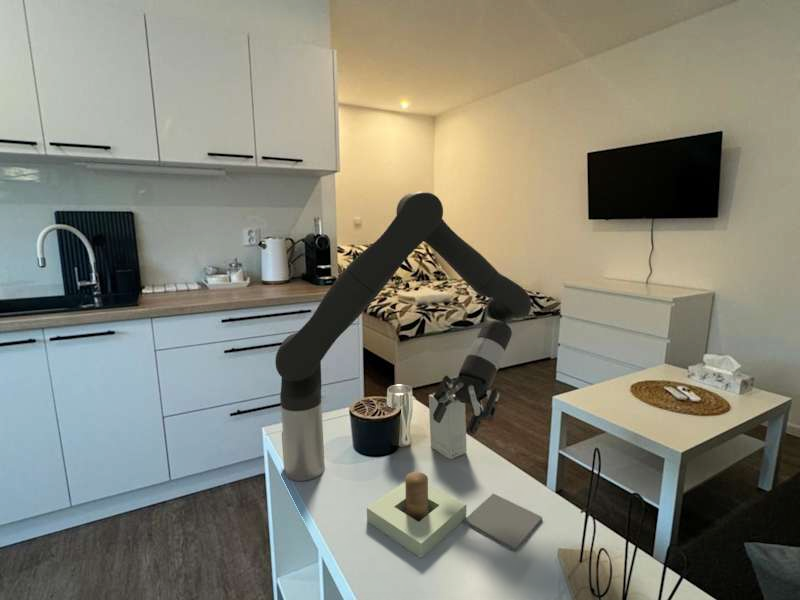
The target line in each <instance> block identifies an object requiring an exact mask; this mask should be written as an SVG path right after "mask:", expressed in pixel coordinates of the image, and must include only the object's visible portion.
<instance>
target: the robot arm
mask: <svg viewBox="0 0 800 600" xmlns="http://www.w3.org/2000/svg"><path fill="white" fill-rule="evenodd" d="M396 206H397V207H396V213H395V214H396V216H395V217H394V219H393V220H392V221H391V223H390V224H389V226H388V227H387V228H386V230H385V231H384V232H383V233H382V234H381V235H380V237H379V238H377V240H376V241H374V242H373V243H372V244H371V245H369V246H368V247H366V248H365V249H364V250H363V251H362V252H361V253H360V254H359V255H357V256H356V257H355V258H354V259H353V260H352V261H351V262H350V263H349V264H348V265H347V266H346V268H345V269H344V270H343V271H342V272H341V274H340V275H338V277H337V278H336V280H334V282H333V283H332V285H331V286H330V288H328V291H327V292H326V293H325V295H324V296H323V298H322V300H321V301H320V303H319V305H318V306H317V307H316V310H315V311H314V313H313V315H312V316H311V317H310V318H309V320H308V321H307V322H306V323H305V324H304V325H303V326H302V327H301V328H300V329H299V331H297V332H295V333H292V334H290V335H289V336H287V337H286V338H285V339H284V340H282V342H281V344H280V345H279V348H278V349H277V352H276V354H275V359H274V361H275V368H276V371H277V373H278V375H279V377H281V381H280V382H281V383H280V396H279V397H280V398H279V399H280V411H281V422H282V423H281V424H282V425H281V426H282V431H281V443H282V444H281V445H282V457H283V458H282V459H283V461H282V462H283V469H284V471H285V475H286V477H287V478H288V479H290V480H292V481H296V482H307V481H310V480H313V479H315V478H318V477H319V476H321V474H322V473H324V471H325V468H326V467H325V445H324V441H325V440H324V428H323V427H324V424H323V422H324V420H323V407H322V404H323V403H322V367H321V366H322V365H321V364H322V360H323V359H324V357H325V356H326V354H327V353H328V351H329V350H330V349H331V347H332V346H333V345H334V344H335V343H336V341H337V340H338V338H339V337H341V335H342V334H343V333H344V332H346V330H347V329H348V328H349V327H350V326H351V325H352V324H354V322H355V321H356V320H357V319H358V318H359V317H360V316H361V315H362V314H363V313H364V311H365V310H366V309H367V308H368V307H369V306H370V305H371V304H372V303H373V302H374V301H375V299H376V298H377V297H378V296H379V294H381V292H382V291H383V289H384V288H385V287H386V285H387V284H388V283H389V282H390V280H391V279H392V278H393V277H394V275H395V274H396V272H398V270H399V268H400V267H401V266H402V264H403V263H404V262H405V261H406V259H407V258H408V257H409V256H411V254H412V253H413V252H414V251H415V250H416V249H417V248H419V246H420V245H421V244H422V243H423V242H424V243H425V244H427V245H428V246H429V247H430V248H431V249H433V250H434V251H435V253H437V254H438V255H439V256H440V257H441V258H442V259H443V260H444V261H445V262H446V263H447V265H449V266H450V267H451V269H453V270H454V272H455V273H456V274H457V275H458V276H460V278H461V279H462V280H463V281H464V282H465V283H466V284H467V285H468V286H469V287H470V288H471V289H472V290H473V291H474V292H476V293H475V294H478V295H479V296H481V297H484V298H485V297H489V299H488V301H487V303H486V307H485V311H484V317H483V323H482V324H483V325H482V326H481V329H480V330H479V333H478V335H477V337H476V338H475V340H474V342H473V343H472V345H471V347H470V349H469V350H468V353H467V356H465V359H464V362H463V363H462V364H461V367H460V370H459V371H458V376H457V378H455V379H453V378H450V376H448V375H444V376H443V378H442V380H441V382H440V383H439V385H438V387H437V389H436V391H435V392H434V393H435V394H434V393H433V394H434V398H435V399H436V400H437V401H438V406H437V408H436V410H435V412H434V414H433V417H434V418H433V419H434V420H435V421H436V422H438V423H440V422H441V420H442V418H443V416H444V414H445V412H446V410H447V408H446V407H448V406H449V405H451V404H452V403H456V402H458V401H460V402H462V403H465V404H467V405H468V406H471V407H473V411H474V414H473V415H472V416H471V418H470V421H469V423H468V426H466V434H467V435H469V436H470V437H473V436H474V435H476V434H477V432H478V430H479V428H480V426H481V423H482V421H484V420H485V421H486V420H488V421H492V420H493V419H494V416H495V413H496V411H497V408H498V405H499V402H500V400H501V395H500V393H499V392H498V391H497V389H492V390H489V388H491V386H492V383H494V382H493V381H494V380H495V377H496V376H497V372H498V370H499V368H500V366H501V363H502V362H503V357H504V354H505V352H506V349H507V348H508V345H509V344H510V341H511V338H512V334H513V332H512V328H511V327H510V326H509V324H507V321H509V320H512V319H519V318H524V317H525V316H527V315H528V314H529V313H530V312H531V309H532V300H531V299H532V298H531V297H530V295H529V294H528V292H527V291H526V289H524V288H523V287H522V286H521V285H519V284H518V283H516V282H514V281H513V280H511V279H510V278H508V277H506V276H505V275H503V274H502V273H500V272H499V271H498V270H497V269H496V268H495V267H494V266H493V265H492V264H491V263H490V262H489V261H488V260H487V258H485V257H484V256H483V255H482V254H481V253H480V252H479V251H478V250H477V249H475V248H474V247H473V246H472V245H470V244H469V243H467V241H465V240H464V239H463V238H462V237H460V236H459V235H458V234H457V233H456V232H455V231H454V230H453V229H452V228H451V227H450V226H449V225H448V224H447V223H446V221H445V220H444V219H443V216H444V207H443V204H442V201H441V200H440V198H439V197H438V196H437V195H435V194H433V192H432V193H431V192H428V191H414V192H409V193H408V194H405V195H404V196H403V197H402V198H400V200H399V202H398V203H397V205H396ZM454 394H455V396H453V395H454ZM486 397H487V402H486V404H485V407H484V406H483V403H482V400H484V399H485V398H486Z"/></svg>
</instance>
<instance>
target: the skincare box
mask: <svg viewBox="0 0 800 600" xmlns="http://www.w3.org/2000/svg"><path fill="white" fill-rule="evenodd" d="M434 394H435V392H434V393H431V394H429V395H428V406H429V408H428V409H429V433H430V447H431V448H432V449H434V450H436V451H437V452H439V453H440V454H441V455H443V456H444V457H446V458H447V459H448V460H452V459H454V458H457V457H460V456H463V455H465V454H466V453H467V432H466V429H467V424H466V423H467V422H466V420H467V419H466V403H462V402H460V401H458V402H456V403H452V404H451V405H449V406H448V407H446V408H447V410H446V412H445V414H444V416H443V418H442V420H441V422H440V423H438V422H436V421H435V420H434V419H433V418H434V417H433V414H434V412H435V410H436V408H437V406H438V401H437V400H436V399H435V398H434ZM453 396H455V394H454V395H453Z"/></svg>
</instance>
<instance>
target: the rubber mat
mask: <svg viewBox="0 0 800 600" xmlns="http://www.w3.org/2000/svg"><path fill="white" fill-rule="evenodd" d="M542 520H543V516H541V515H539V514H538V513H535V512H534V511H531V510H529V509H527V508H524V507H522V506H520V505H519V504H516V503H514V502H512V501H510V500H507V499H506V498H504V497H502V496H499V495H498V494H496V493H492V494H491V495H490V496H489V497H487V498H486V499H485V500H484V501H483V502H482V503H481V504H480V505H479V506H478V507H476V508H475V510H473V511H472V512H471V513H470V514H469V515H468V516H466V518H465V519H464V520H463V523H464V524H465V525H468V526H469V527H470V528H473V529H475V530H476V531H477V532H480V533H482V534H483V535H485V536H487V537H489V538H491V539H492V540H494V541H496V542H498V543H499V544H501V545H503V546H505V547H506V548H508V549H509V550H512V551H513V552H516V551H517V550H518V549H519V548H520V547H521V546H522V544H523V543H524V542H525V541H526V539H527V538H528V537H529V536H530V535H531V534H532V532H533V531H534V530H535V529H536V528H537V527H538V525H539V524H540V523H541V521H542Z"/></svg>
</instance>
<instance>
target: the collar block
mask: <svg viewBox="0 0 800 600" xmlns="http://www.w3.org/2000/svg"><path fill="white" fill-rule="evenodd" d="M466 518H467V503H465V502H464V501H462V500H460V499H458V498H455V497H454V496H452V495H451V494H449V493H446V492H444V491H442V490H441V489H438V488H437V487H435V486H433V485H431V484H429V483H428V515H427V516H425V517H424V518H423V519H422V520H421V521H419V522H418V521H416V520H415V519H413V518H411V517H410V516H408V515H407V514H406V485H405V481H403V483H401V484H400V485H398V486H396V487H395V488H394V489H392V490H391V491H390V492H388V493H386V494H385V495H384V496H382V497H380V498H379V499H378V500H376V501H375V502H373V503H371V504H370V505H369V506H367V507H366V520H367V521H366V522H368V523H369V524H371V525H372V526H374V527H375V528H377V530H379V531H381V532H382V533H384V534H385V535H386V536H388V537H390V538H391V539H392V540H393V541H395V542H396V543H398V544H400V545H401V546H402V547H404V548H406V549H407V550H408V551H410V552H411V553H412V554H415V556H417V557H418V558H419V559H423V558H424V557H425V555H427V554H428V553H429V552H430V551H431V550H432V549H434V547H436V545H438V544H439V543H440V542H441V541H442V540H443V539H445V538H446V537H447V536H448V535H449V534H450V533H451V532H452V531H453V530H455V528H456V527H458V526H459V525H460V524H461V523H462V522H464V520H465V519H466Z"/></svg>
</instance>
